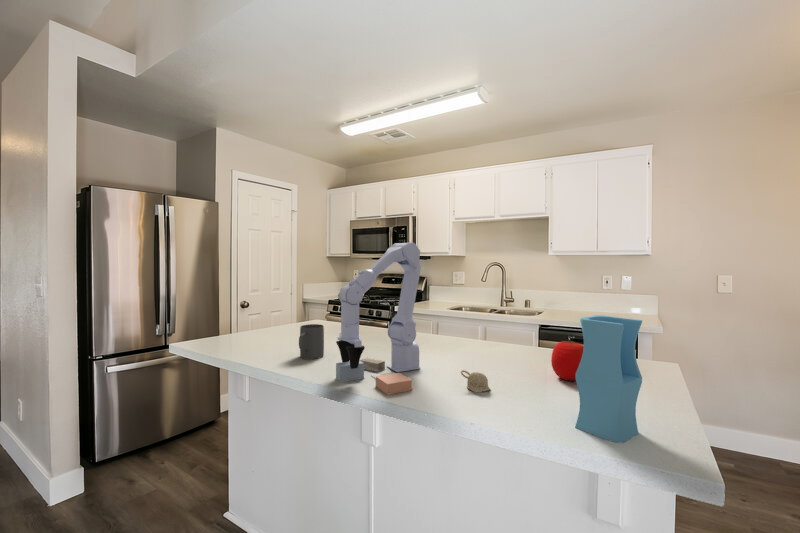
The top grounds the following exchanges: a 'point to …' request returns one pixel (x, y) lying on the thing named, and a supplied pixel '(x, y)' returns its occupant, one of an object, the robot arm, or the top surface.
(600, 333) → the vase
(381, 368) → the brick
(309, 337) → the mug
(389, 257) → the robot arm
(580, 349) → the tomato
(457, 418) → the top surface
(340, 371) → the top brick
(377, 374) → the page
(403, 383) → the base brick
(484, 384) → the decorative ornament
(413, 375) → the top surface
